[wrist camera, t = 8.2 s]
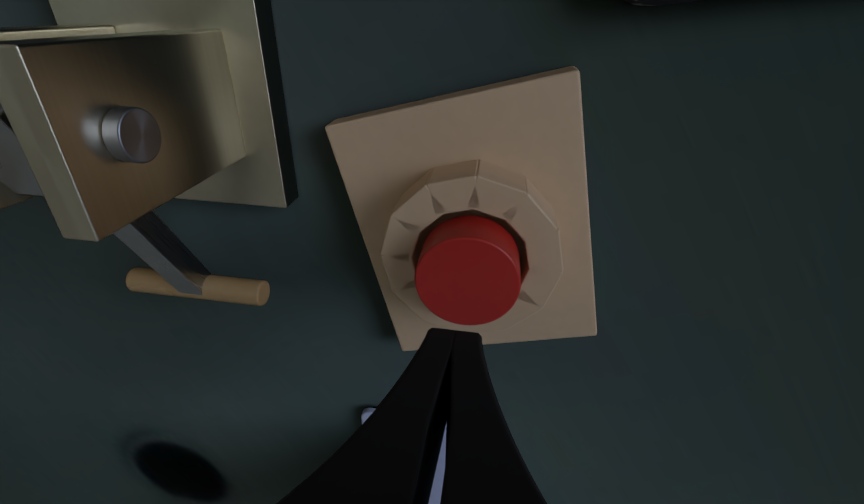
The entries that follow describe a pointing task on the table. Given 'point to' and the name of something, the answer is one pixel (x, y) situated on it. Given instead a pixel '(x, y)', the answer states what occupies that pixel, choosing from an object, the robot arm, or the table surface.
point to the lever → (143, 244)
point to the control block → (478, 197)
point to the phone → (657, 2)
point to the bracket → (147, 109)
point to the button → (468, 271)
